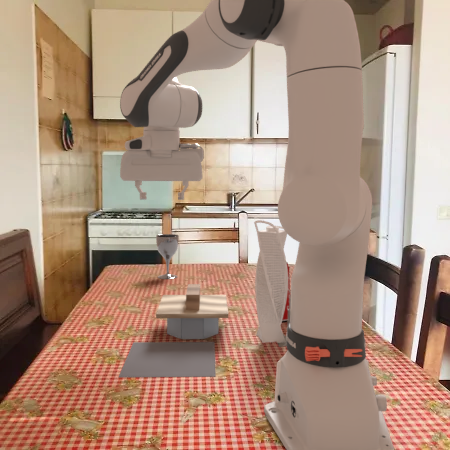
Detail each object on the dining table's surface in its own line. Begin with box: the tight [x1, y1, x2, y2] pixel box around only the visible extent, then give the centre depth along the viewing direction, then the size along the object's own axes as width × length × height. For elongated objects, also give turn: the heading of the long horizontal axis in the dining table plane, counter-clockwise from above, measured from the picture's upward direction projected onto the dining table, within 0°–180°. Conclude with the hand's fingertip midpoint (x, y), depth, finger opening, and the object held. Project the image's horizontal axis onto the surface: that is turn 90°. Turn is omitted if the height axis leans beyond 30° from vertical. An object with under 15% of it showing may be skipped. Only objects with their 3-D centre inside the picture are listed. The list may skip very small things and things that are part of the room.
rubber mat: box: [118, 341, 217, 378], centre depth 99 cm, size 18×18×1 cm
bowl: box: [166, 318, 220, 340], centre depth 115 cm, size 12×12×6 cm
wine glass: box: [155, 233, 180, 280], centre depth 173 cm, size 8×8×15 cm
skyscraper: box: [253, 219, 291, 348], centre depth 109 cm, size 8×8×28 cm
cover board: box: [155, 283, 229, 319], centre depth 115 cm, size 16×16×4 cm
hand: (162, 199), depth 121 cm, fingers open, 8 cm apart
